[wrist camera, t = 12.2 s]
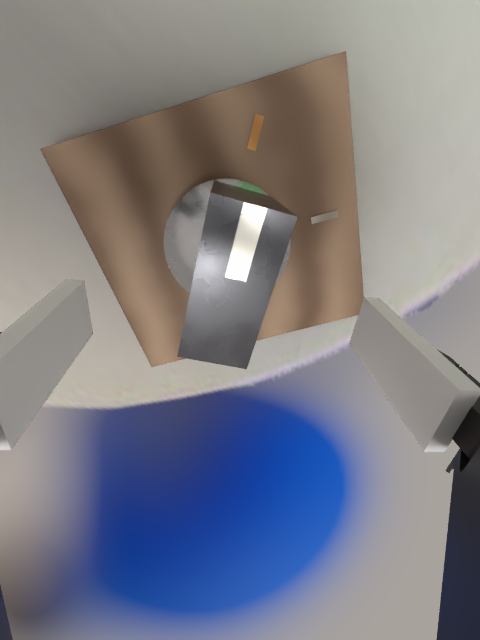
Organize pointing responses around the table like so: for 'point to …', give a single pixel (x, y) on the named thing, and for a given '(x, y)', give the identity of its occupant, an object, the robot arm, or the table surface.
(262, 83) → the dial panel
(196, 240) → the dial
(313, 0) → the table surface
